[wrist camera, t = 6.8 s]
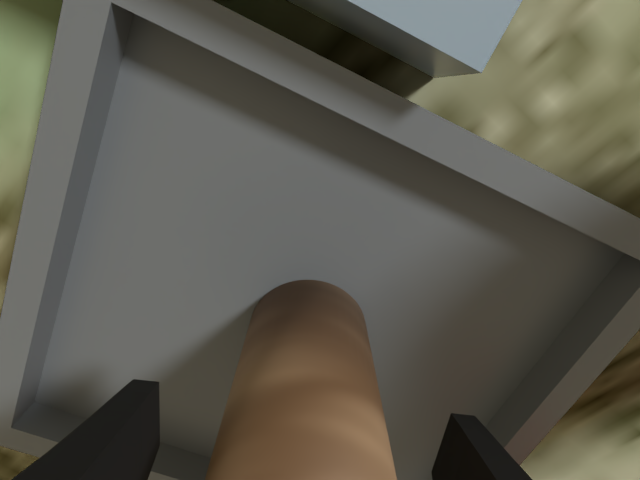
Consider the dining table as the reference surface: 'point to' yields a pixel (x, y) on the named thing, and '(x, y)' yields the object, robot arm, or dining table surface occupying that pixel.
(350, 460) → the walnut dowel
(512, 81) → the dining table surface
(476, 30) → the frame
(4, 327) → the grey tray
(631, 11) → the dining table surface
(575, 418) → the dining table surface
